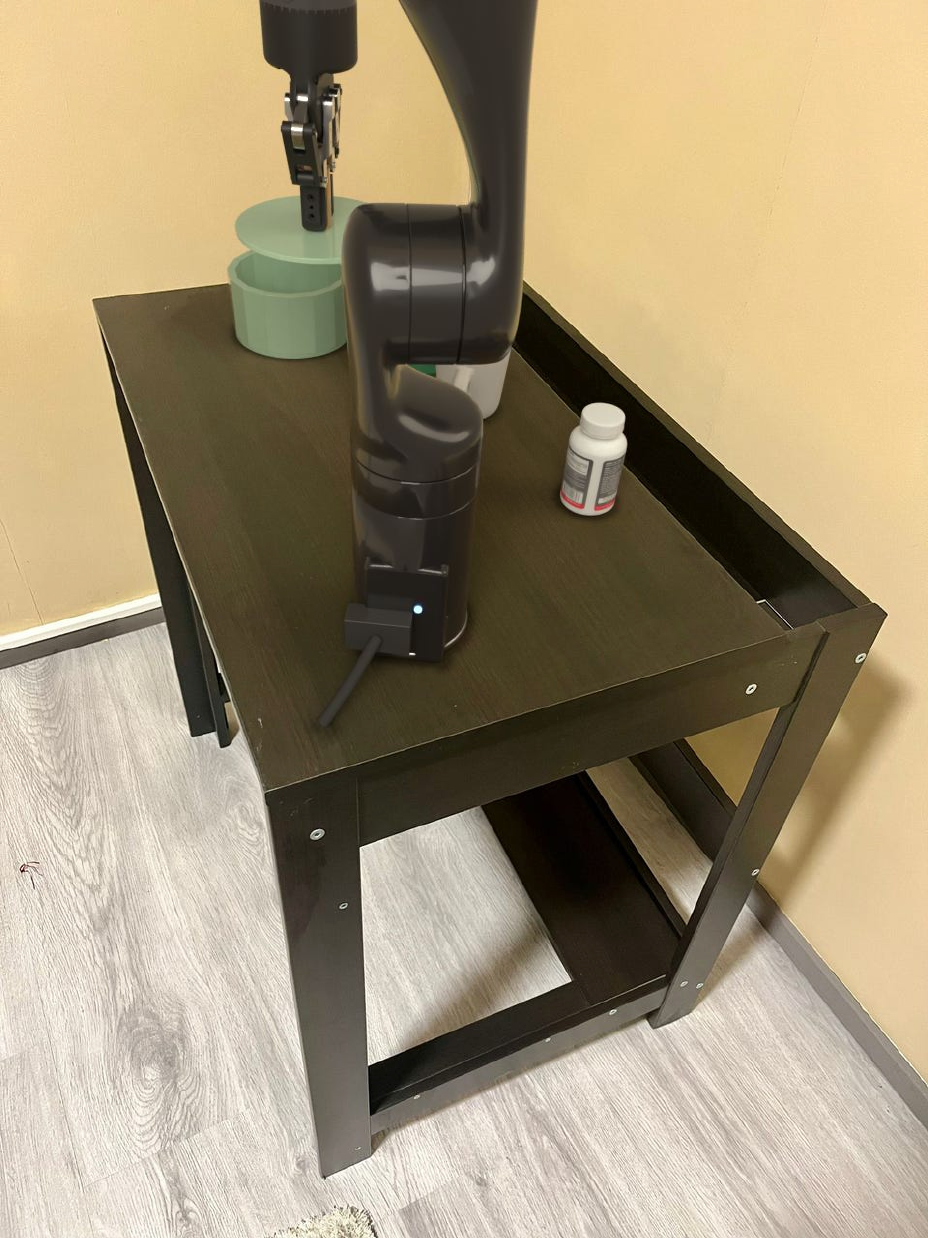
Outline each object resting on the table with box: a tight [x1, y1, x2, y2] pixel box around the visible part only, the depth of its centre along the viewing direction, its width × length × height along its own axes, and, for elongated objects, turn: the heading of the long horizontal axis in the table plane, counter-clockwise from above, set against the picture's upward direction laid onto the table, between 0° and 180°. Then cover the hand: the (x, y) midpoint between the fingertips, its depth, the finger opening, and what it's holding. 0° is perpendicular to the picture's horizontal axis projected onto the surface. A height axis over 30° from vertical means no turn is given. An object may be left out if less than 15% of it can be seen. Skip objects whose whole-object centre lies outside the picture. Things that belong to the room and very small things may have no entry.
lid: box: [234, 164, 367, 265], centre depth 81 cm, size 15×15×6 cm
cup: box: [436, 349, 512, 420], centre depth 95 cm, size 11×8×8 cm
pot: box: [226, 249, 347, 360], centre depth 106 cm, size 14×14×8 cm
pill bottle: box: [559, 402, 628, 517], centre depth 85 cm, size 5×5×10 cm
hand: (318, 221), depth 82 cm, fingers closed on lid, 2 cm apart
